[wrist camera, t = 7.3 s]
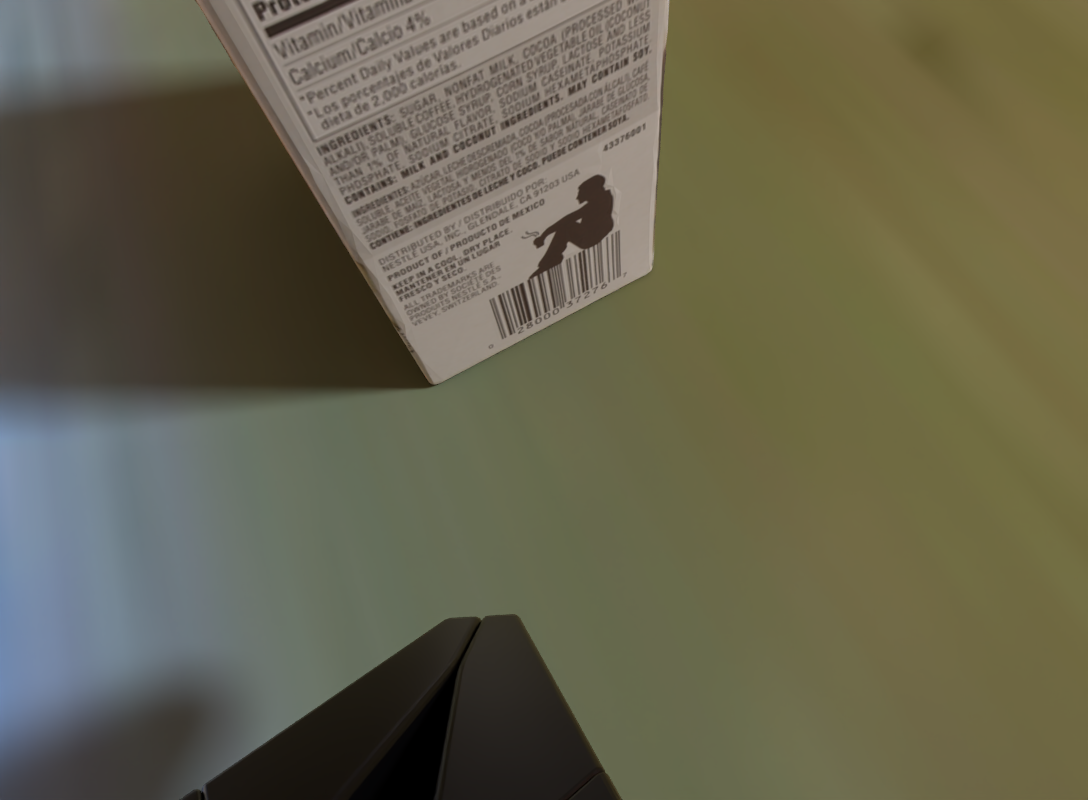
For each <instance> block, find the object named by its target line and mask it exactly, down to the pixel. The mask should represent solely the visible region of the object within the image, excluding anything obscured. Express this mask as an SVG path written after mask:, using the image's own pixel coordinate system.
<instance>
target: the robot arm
mask: <svg viewBox="0 0 1088 800" xmlns="http://www.w3.org/2000/svg"><path fill="white" fill-rule="evenodd" d="M180 800H622V799H621V797H620V795H619V793H618V792H617V790H616V788H615V786H614V785H613V783H612V781H611V779H610V777H609V776H608V775H607V774H606V773H605V770H604V768H603V767H602V765H601V763H600V761H599V759H598V758H597V756H596V754H595V752H594V750H593V749H592V747H591V745H590V743H589V741H588V740H587V738H586V736H585V734H584V732H583V731H582V729H581V727H580V725H579V723H578V722H577V720H576V718H575V716H574V714H573V713H572V711H571V709H570V707H569V705H568V704H567V702H566V700H565V698H564V696H563V695H562V693H561V691H560V689H559V687H558V686H557V684H556V682H555V680H554V678H553V677H552V675H551V673H550V671H549V669H548V668H547V666H546V664H545V662H544V660H543V659H542V657H541V655H540V653H539V651H538V650H537V648H536V646H535V644H534V642H533V641H532V639H531V637H530V635H529V633H528V632H527V630H526V628H525V626H524V624H523V623H522V621H521V619H520V618H519V617H518V616H517V615H515V614H509V615H493V616H486V617H484V618H483V620H481V619H480V618H478V617H459V618H448V619H446V620H444V621H442V622H441V623H440V624H438V625H437V626H435V627H434V628H432V629H431V630H429V631H428V632H426V633H425V634H423V635H422V636H421V637H419V638H418V639H416V640H415V641H413V642H412V643H410V644H409V645H407V646H406V647H404V648H403V649H402V650H400V651H399V652H397V653H396V654H394V655H393V656H391V657H390V658H388V659H387V660H385V661H384V662H383V663H381V664H380V665H378V666H377V667H375V668H374V669H372V670H371V671H369V672H368V673H366V674H365V675H364V676H362V677H361V678H359V679H358V680H356V681H355V682H353V683H352V684H350V685H349V686H347V687H346V688H345V689H343V690H342V691H340V692H339V693H337V694H336V695H334V696H333V697H331V698H330V699H328V700H327V701H326V702H324V703H323V704H321V705H320V706H318V707H317V708H315V709H314V710H312V711H311V712H309V713H308V714H307V715H305V716H304V717H302V718H301V719H299V720H298V721H296V722H295V723H293V724H292V725H290V726H289V727H288V728H286V729H285V730H283V731H282V732H280V733H279V734H277V735H276V736H274V737H273V738H271V739H270V740H269V741H267V742H266V743H264V744H263V745H261V746H260V747H258V748H257V749H255V750H254V751H252V752H251V753H250V754H248V755H247V756H245V757H244V758H242V759H241V760H239V761H238V762H236V763H235V764H233V765H232V766H231V767H229V768H228V769H226V770H225V771H223V772H222V773H220V774H219V775H217V776H216V777H214V778H213V779H212V780H210V781H209V782H207V783H206V784H205V785H204V786H203V788H202V792H201V791H200V790H198V789H196V790H193V791H191V792H190V793H189V794H187V795H186V796H184V797H183V798H181V799H180Z"/></svg>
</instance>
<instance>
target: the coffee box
mask: <svg viewBox="0 0 1088 800" xmlns="http://www.w3.org/2000/svg"><path fill="white" fill-rule="evenodd" d="M195 1H196V2H197V4H198V5H199V7H200V8H201V10H202V11H203V13H204V15H205V16H206V18H207V20H208V22H209V24H210V25H211V27H212V29H213V31H214V32H215V34H216V35H217V37H218V39H219V40H220V42H221V44H222V45H223V47H224V48H225V50H226V52H227V53H228V55H229V57H230V59H231V61H232V62H233V64H234V66H235V67H236V69H237V70H238V72H239V73H240V74H241V76H242V78H243V79H244V81H245V83H246V84H247V86H248V88H249V89H250V91H251V93H252V95H253V96H254V98H255V99H256V101H257V102H258V104H259V106H260V107H261V109H262V111H263V112H264V114H265V116H266V117H267V119H268V121H269V122H270V124H271V126H272V127H273V129H274V131H275V132H276V134H277V136H278V137H279V139H280V141H281V142H282V144H283V145H284V147H285V149H286V150H287V152H288V154H289V155H290V157H291V159H292V160H293V162H294V164H295V165H296V167H297V168H298V170H299V172H300V173H301V175H302V177H303V178H304V180H305V182H306V183H307V185H308V186H309V188H310V190H311V191H312V193H313V195H314V196H315V198H316V200H317V201H318V203H319V204H320V206H321V208H322V209H323V211H324V213H325V214H326V216H327V218H328V219H329V221H330V222H331V224H332V226H333V227H334V229H335V231H336V232H337V234H338V236H339V237H340V239H341V240H342V242H343V244H344V245H345V247H346V249H347V250H348V252H349V254H350V255H351V257H352V259H353V260H354V262H355V263H356V265H357V267H358V268H359V270H360V272H361V273H362V275H363V276H364V278H365V280H366V281H367V283H368V285H369V286H370V288H371V289H372V291H373V293H374V294H375V296H376V298H377V299H378V301H379V302H380V304H381V306H382V307H383V309H384V311H385V312H386V314H387V316H388V317H389V319H390V321H391V322H392V324H393V326H394V327H395V329H396V330H397V332H398V334H399V335H400V337H401V338H402V340H403V342H404V343H405V345H406V346H407V348H408V350H409V351H410V353H411V355H412V356H413V358H414V359H415V361H416V363H417V364H418V366H419V367H420V369H421V371H422V372H423V374H424V375H425V377H426V378H427V380H428V381H429V383H431V384H439V383H442V382H443V381H445V380H447V379H449V378H451V377H453V376H455V375H457V374H459V373H460V372H462V371H464V370H466V369H468V368H470V367H472V366H474V365H476V364H478V363H479V362H481V361H483V360H485V359H487V358H489V357H491V356H493V355H495V354H496V353H498V352H500V351H502V350H504V349H506V348H508V347H510V346H512V345H514V344H515V343H517V342H519V341H521V340H523V339H525V338H527V337H529V336H531V335H533V334H534V333H536V332H538V331H540V330H542V329H544V328H546V327H548V326H550V325H551V324H553V323H555V322H557V321H559V320H561V319H563V318H565V317H567V316H568V315H570V314H572V313H574V312H576V311H578V310H580V309H582V308H583V307H585V306H587V305H589V304H591V303H593V302H594V301H596V300H598V299H600V298H602V297H604V296H606V295H608V294H610V293H612V292H614V291H616V290H618V289H619V288H621V287H623V286H625V285H627V284H629V283H631V282H632V281H634V280H636V279H638V278H640V277H642V276H644V275H646V274H647V273H649V272H650V271H651V269H652V267H653V258H654V239H655V218H656V200H657V181H658V167H659V155H660V140H661V120H662V106H663V85H664V73H665V61H666V40H667V32H668V13H669V0H195Z"/></svg>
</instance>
